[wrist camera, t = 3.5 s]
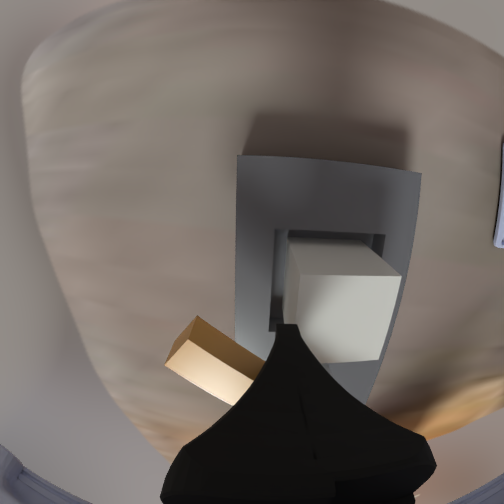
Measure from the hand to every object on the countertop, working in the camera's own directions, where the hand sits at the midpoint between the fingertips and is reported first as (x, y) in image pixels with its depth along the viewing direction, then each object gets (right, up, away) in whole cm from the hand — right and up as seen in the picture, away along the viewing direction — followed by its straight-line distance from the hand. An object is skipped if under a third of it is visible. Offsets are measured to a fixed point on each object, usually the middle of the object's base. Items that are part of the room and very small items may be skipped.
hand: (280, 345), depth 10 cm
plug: (+3, +2, +5) cm, 6 cm away
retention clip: (0, -2, +1) cm, 2 cm away
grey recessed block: (+3, -2, +7) cm, 8 cm away
